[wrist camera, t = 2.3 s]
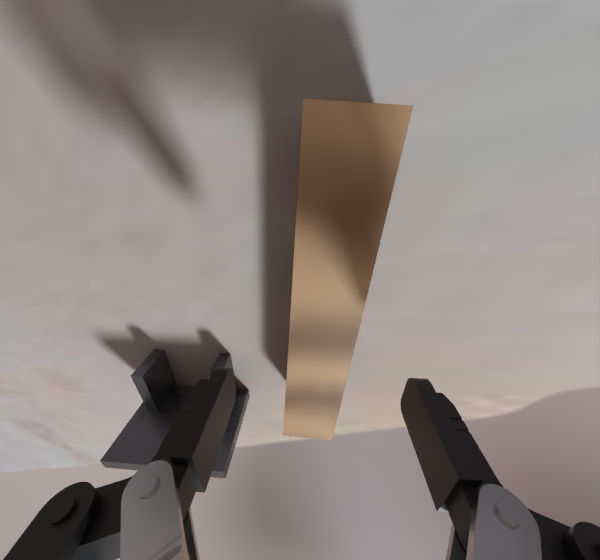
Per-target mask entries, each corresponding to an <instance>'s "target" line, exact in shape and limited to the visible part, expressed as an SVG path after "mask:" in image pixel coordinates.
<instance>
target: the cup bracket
mask: <svg viewBox="0 0 600 560" xmlns="http://www.w3.org/2000/svg"><path fill="white" fill-rule="evenodd" d="M216 367H218V368H232V370H233V366H232V361H231V356H230V354H219V356H218V358H217V360H216V362H215V364H214V366H213V368H212V370H211V372H210V374H209V376H208V378H207V380H208V379H209V377H210V375H211V373H212V371H213V369H214V368H216ZM233 375H234V372H233ZM131 377H132V379H133V381H134V383H135V385H136V387H137V389H138V391H139V393H140V395H141V397H142V400H143V403H142V404H141V406H140V407H139V408H138V410H137V411H136V413H135V414H134V415H133V417H132V418H131V419H130V421H129V422H128V424H127V425H126V426H125V428H124V429H123V430H122V432H121V433H120V434H119V436H118V437H117V439H116V440H115V441H114V443H113V444H112V445H111V447H110V448H109V449H108V451H107V452H106V454H105V455H104V456H103V458H102V459H101V460H100V461H101V463H102V464H103V465H104V466H105V467H107V468H118V469H129V470H139V469H141V468H142V467H143V466H145V465H146V464H148V463H149V462H150V461H151V460H152V459H153V457H154V456H155V454H156V453H157V451H158V449H159V447H160V446H161V444H162V442H163V440H164V438H165V437H166V435H167V433H168V431H169V429H170V427H171V426H172V424H173V422H174V420H175V418H176V417H177V415H178V414H179V412H180V409H181V407H182V406H183V404H184V403H185V400H186V398H187V397H188V395H189V393H190V391H191V389H192V388H193V387H194V386H179V385H176V382H175V379H174V377H173V374H172V371H171V368H170V366H169V363H168V360H167V358H166V355H165V352H164V350H153V351H152V352H151V354H150V355H149V356H148V357H147V358H146V359H145V360H144V362H143V363H142V364H141V365H140V366H139V367H138V368H137V369H136V371H135V372H134V373H133V374H132V375H131ZM234 380H235V377H234ZM235 386H236V382H235ZM248 400H249V390H239V389H237V388H236V399H235V403H234V407H233V410H232V413H231V416H230V419H229V422H228V425H227V428H226V431H225V434H224V437H223V439H222V442H221V445H220V448H219V451H218V454H217V457H216V460H215V463H214V466H213V469H212V472H211V475H210V477H218V478H226V475H227V472H228V468H229V465H230V461H231V458H232V455H233V451H234V448H235V444H236V441H237V438H238V434H239V431H240V427H241V424H242V420H243V417H244V414H245V410H246V407H247V403H248Z"/></svg>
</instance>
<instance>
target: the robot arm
mask: <svg viewBox="0 0 600 560" xmlns="http://www.w3.org/2000/svg"><path fill="white" fill-rule="evenodd" d="M235 399H236V386H235V380H234V375H233V370H232V368H218V367H216V368H214V369H213V371H212V373H211V375H210V377H209V379H208V380H205V379H201V380H200V381H199V382H198V383H197V384H196V385H195V386H194V387H193V388H192V389H191V391H190V393H189V395H188V397H187V398H186V400H185V403H184V404H183V406H182V407H181V409H180V412H179V414H178V415H177V417H176V418H175V420H174V422H173V424H172V426H171V427H170V429H169V431H168V433H167V435H166V437H165V438H164V440H163V442H162V444H161V446H160V447H159V449H158V451H157V453H156V454H155V456H154V457H153V459H152V460H151V461H150V462H149V463H148V464H146V465H145V466H143V467H142V468H141V469H139V470H138V471H137V472H136V473H135V474H134V475H133V476H132V477H130V478H128V479H125V480H122V481H119V482H115V483H112V484H109V485H105V486H102V487H99V488H94V487H93V486H92V485H91V484H90V483H88V482H78V483H75V484H72V485H70V486H68V487H67V488H65V489H63V490H61V491H60V492H59V493H57V494H56V495H55V496H54V497H53V498H51V499H50V500H49V501H48V502H47V503H46V504H45V505H44V507H43V508H42V509H41V510H40V511H39V513H38V514H37V515H36V517H35V518H34V519H33V521H32V522H31V523H30V525H29V526H28V527H27V529H26V530H25V532H24V533H23V534H22V535H21V537H20V538H19V539H18V541H17V542H16V544H15V545H14V546H13V547H12V549H11V550H10V551H9V553H8V554H7V555H6V557H5V558H4V559H3V560H115V559H118V558H120V560H199V554H198V548H197V542H196V537H195V531H194V525H193V520H192V515H191V509H190V506H191V503H192V500H193V497H194V495H195V492H205V490H206V487H207V484H208V481H209V478H210V475H211V472H212V469H213V466H214V463H215V460H216V457H217V454H218V451H219V448H220V445H221V442H222V439H223V437H224V434H225V431H226V428H227V425H228V422H229V419H230V416H231V413H232V410H233V407H234V403H235ZM401 411H402V415H403V418H404V420H405V423H406V426H407V429H408V431H409V434H410V437H411V440H412V443H413V445H414V448H415V451H416V454H417V457H418V460H419V462H420V465H421V468H422V471H423V474H424V476H425V479H426V482H427V485H428V488H429V490H430V493H431V496H432V499H433V502H434V504H435V507H436V510H437V512H447V513H449V515H450V517H451V520H452V523H453V524H452V527H451V532H450V538H449V545H448V550H447V555H446V560H600V527H598V526H596V525H594V524H591V523H587V522H579V523H577V524H575V525H574V526H573V527H569V526H566V525H564V524H562V523H559V522H557V521H555V520H552V519H550V518H548V517H545V516H543V515H540V514H538V513H536V512H534V511H532V510H530V509H528V508H527V507H526V506H525V505H524V504H523V503H522V502H521V500H520V499H518V498H517V497H516V496H515V495H514V494H513V493H511V492H510V491H508V490H507V489H505V488H504V487H503V486H502V485H501V484H500V482H499V481H498V479H497V478H496V476H495V474H494V473H493V471H492V469H491V467H490V466H489V464H488V462H487V461H486V459H485V457H484V456H483V454H482V452H481V450H480V449H479V447H478V445H477V443H476V442H475V440H474V438H473V437H472V435H471V433H469V431H468V428H467V426H466V425H465V423H464V421H462V418H461V416H460V415H459V413H458V411H457V409H456V408H455V406H454V405H453V404H452V403H451V402H450V401H449V400H448V399H447V398H446V397H445V396H444V395H443V394H442V393H436V392H435V390H434V388H433V386H432V384H431V383H430V381H429V380H428V379H417V378H409V379H408V380H407V383H406V386H405V389H404V392H403V395H402V398H401Z"/></svg>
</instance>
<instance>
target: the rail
mask: <svg viewBox="0 0 600 560" xmlns="http://www.w3.org/2000/svg"><path fill="white" fill-rule="evenodd" d="M412 108H413V106H408V105H394V104H379V103H365V102H350V101H336V100H321V99H307V98H303V109H302V126H301V143H300V160H299V177H298V193H297V210H296V227H295V244H294V261H293V278H292V295H291V311H290V328H289V345H288V362H287V379H286V396H285V413H284V429H283V435H286V436H295V437H304V438H313V439H322V440H331V441H332V438H333V434H334V430H335V425H336V421H337V417H338V413H339V409H340V405H341V401H342V396H343V392H344V388H345V384H346V380H347V376H348V372H349V368H350V363H351V359H352V355H353V351H354V347H355V343H356V339H357V335H358V330H359V326H360V322H361V318H362V314H363V310H364V306H365V302H366V297H367V293H368V289H369V285H370V281H371V277H372V273H373V269H374V264H375V260H376V256H377V252H378V248H379V244H380V240H381V236H382V231H383V227H384V223H385V219H386V215H387V211H388V207H389V203H390V198H391V194H392V190H393V186H394V182H395V178H396V174H397V170H398V165H399V161H400V157H401V153H402V149H403V145H404V141H405V137H406V132H407V128H408V124H409V120H410V116H411V112H412Z"/></svg>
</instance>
